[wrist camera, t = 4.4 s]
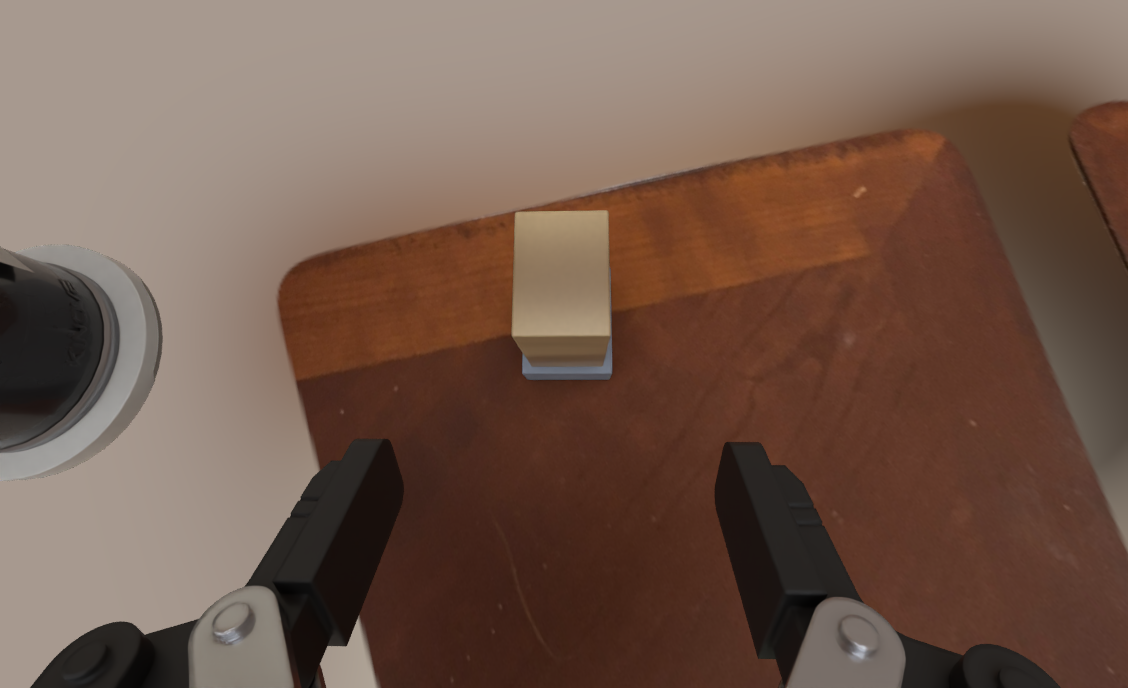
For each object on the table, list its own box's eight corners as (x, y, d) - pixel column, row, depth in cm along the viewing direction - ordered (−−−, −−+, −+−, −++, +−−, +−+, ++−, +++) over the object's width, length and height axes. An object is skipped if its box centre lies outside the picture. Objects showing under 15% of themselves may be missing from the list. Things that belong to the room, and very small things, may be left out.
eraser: (609, 379, 23) (623, 345, 15) (527, 379, 23) (498, 345, 15) (608, 281, 24) (620, 201, 16) (529, 281, 24) (503, 203, 16)
